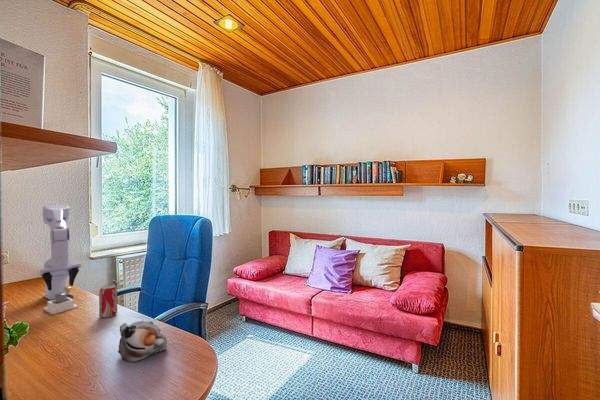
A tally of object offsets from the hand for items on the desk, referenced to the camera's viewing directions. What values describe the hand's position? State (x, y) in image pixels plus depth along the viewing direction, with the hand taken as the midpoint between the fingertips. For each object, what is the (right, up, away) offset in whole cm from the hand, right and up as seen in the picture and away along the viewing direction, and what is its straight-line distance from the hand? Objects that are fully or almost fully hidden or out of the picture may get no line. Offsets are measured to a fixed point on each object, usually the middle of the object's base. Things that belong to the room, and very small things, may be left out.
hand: (60, 287), depth 131 cm
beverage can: (+25, -10, -7) cm, 28 cm away
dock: (-1, -9, +2) cm, 9 cm away
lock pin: (-2, -6, +7) cm, 10 cm away
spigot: (0, -8, 0) cm, 8 cm away
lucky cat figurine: (+55, -11, -37) cm, 67 cm away
